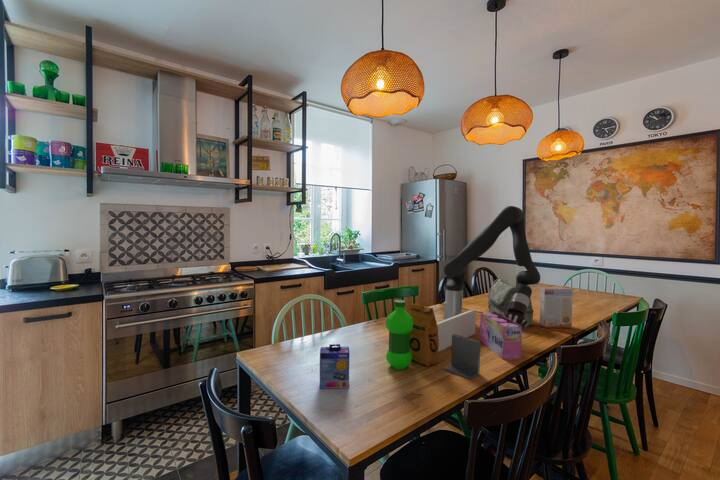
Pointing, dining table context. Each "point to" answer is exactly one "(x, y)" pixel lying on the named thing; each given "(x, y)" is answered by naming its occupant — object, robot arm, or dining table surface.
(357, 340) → the dining table surface
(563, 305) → the cracker box
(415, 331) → the coffee package
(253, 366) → the dining table surface
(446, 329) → the shelf wall
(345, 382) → the ink cartridge box
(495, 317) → the gum box
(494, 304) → the lunch bag
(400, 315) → the plastic bottle
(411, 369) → the dining table surface
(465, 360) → the bookend
